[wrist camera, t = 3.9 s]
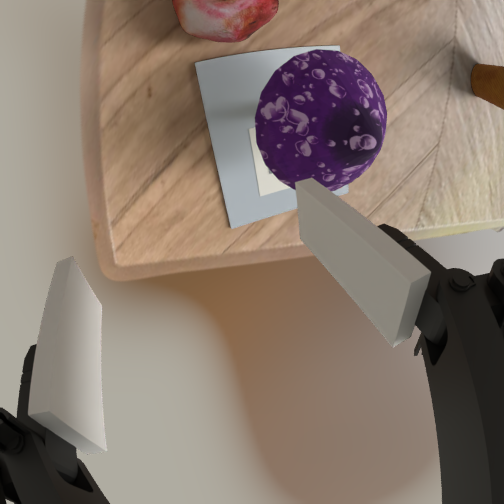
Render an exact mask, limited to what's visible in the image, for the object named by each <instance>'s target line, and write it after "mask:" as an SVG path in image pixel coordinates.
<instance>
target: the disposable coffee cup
mask: <svg viewBox="0 0 504 504" xmlns="http://www.w3.org/2000/svg"><path fill="white" fill-rule="evenodd" d="M471 85H472V89H473V92H474V94H475V95H476V96H478V97H480V98H482V99H484V100H486V101H488V102H490V103H492V104H494V105H496V106H498V107H500V108H502V109H504V67H503V66H495V65H485V64H476V65H475V66H474V68H473V70H472V73H471Z"/></svg>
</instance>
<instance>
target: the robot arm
mask: <svg viewBox="0 0 504 504" xmlns="http://www.w3.org/2000/svg"><path fill="white" fill-rule="evenodd" d="M295 187H296V197H297V208H298V219H299V231H300V239H301V240H302V241H303V243H304V244H305V245H306V246H307V247H308V248H309V249H310V250H311V252H312V253H313V254H314V255H315V256H316V257H317V258H318V259H319V261H320V262H321V263H322V264H323V265H324V266H325V268H326V269H327V270H328V271H329V272H330V273H331V274H332V275H333V277H334V278H335V279H336V280H337V281H338V283H339V284H340V285H341V286H342V287H343V288H344V290H345V291H346V292H347V293H348V294H349V295H350V296H351V298H352V299H353V300H354V301H355V303H356V304H357V305H358V306H359V307H360V308H361V310H362V311H363V312H364V313H365V314H366V316H367V317H368V318H369V319H370V321H371V322H372V323H373V324H374V325H375V326H376V328H377V329H378V330H379V331H380V333H381V334H382V335H383V336H384V338H385V339H386V340H387V341H388V342H389V344H390V345H391V346H392V347H395V346H396V345H398V344H400V343H401V342H403V341H405V340H406V339H408V338H410V337H411V335H412V332H413V329H414V326H415V325H416V326H417V327H418V328H419V330H420V331H421V334H420V337H419V339H418V342H417V344H416V347H415V349H414V356H417V355H418V353H419V350H420V348H421V349H422V355H423V358H424V362H425V367H426V372H427V377H428V382H429V387H430V392H431V398H432V403H433V410H434V416H435V423H436V431H437V439H438V448H439V457H440V468H441V484H442V504H504V259H498V260H496V261H495V262H494V263H493V266H492V269H491V271H490V273H487V274H483V275H478V276H473V275H472V274H471V273H469V272H467V271H465V270H463V269H457V268H451V269H446V268H445V267H443V266H442V265H441V264H440V263H439V262H438V261H436V260H435V259H434V258H433V257H431V256H430V255H429V254H428V253H427V252H425V251H424V250H423V249H422V248H420V247H419V246H416V243H414V242H413V241H412V240H411V239H408V237H407V236H406V235H404V234H403V233H402V232H401V231H399V230H398V229H396V228H394V227H391V226H389V225H386V224H382V225H379V226H376V225H375V224H373V223H372V222H371V221H370V220H368V219H367V218H366V217H364V216H363V215H362V214H361V213H359V212H358V211H357V210H355V209H354V208H353V207H351V206H350V205H349V204H347V203H346V202H345V201H343V200H342V199H341V198H339V197H338V196H337V195H335V194H334V193H333V192H331V191H330V190H328V189H327V188H326V187H324V186H323V185H321V184H320V183H319V182H317V181H316V180H314V179H313V178H309V179H305V180H301V181H298V182H295ZM101 323H102V305H101V304H100V302H99V300H98V299H97V297H96V296H95V294H94V292H93V291H92V289H91V287H90V286H89V284H88V282H87V281H86V279H85V277H84V276H83V274H82V272H81V270H80V268H79V267H78V265H77V263H76V261H75V260H74V258H73V256H72V257H69V258H66V259H64V260H62V261H59V262H57V264H56V267H55V271H54V274H53V278H52V281H51V285H50V288H49V292H48V296H47V300H46V304H45V308H44V313H43V317H42V321H41V326H40V331H39V336H38V341H37V344H35V345H32V346H31V347H30V349H29V351H28V353H27V355H26V357H25V360H24V365H23V371H22V372H23V374H22V377H21V384H22V385H20V391H19V399H18V408H17V418H15V417H14V416H13V415H11V414H10V413H9V412H8V411H6V410H5V409H3V408H0V504H6V500H5V499H7V500H9V501H11V502H14V504H110V503H109V501H108V500H107V499H106V497H105V496H104V494H103V493H102V491H101V490H100V488H99V487H98V485H97V484H96V482H95V481H94V479H93V477H92V476H91V474H90V473H89V471H88V469H87V468H86V466H85V465H84V463H83V462H82V461H81V460H80V459H78V458H77V455H76V448H77V449H78V450H80V451H82V452H83V453H85V454H87V455H88V454H95V453H101V452H107V446H106V437H105V427H104V416H103V400H102V378H101Z"/></svg>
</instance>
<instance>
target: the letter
mask: <svg viewBox="0 0 504 504" xmlns="http://www.w3.org/2000/svg"><path fill="white" fill-rule="evenodd" d="M315 49H321V50H336V51H339V52H340V46H311V47H296V48H284V49H274V50H266V51H258V52H250V53H244V54H237V55H231V56H226V57H220V58H215V59H210V60H205V61H200V62H196V63H195V68H196V73H197V77H198V82H199V87H200V92H201V96H202V101H203V106H204V110H205V115H206V120H207V124H208V129H209V133H210V138H211V142H212V147H213V152H214V156H215V161H216V165H217V170H218V174H219V179H220V183H221V187H222V192H223V196H224V201H225V205H226V209H227V214H228V218H229V223H230V227H231V229H233V228H236V227H239V226H242V225H245V224H249V223H252V222H255V221H258V220H261V219H264V218H267V217H271V216H274V215H277V214H280V213H283V212H287V211H290V210H293V209H296V208H297V197H296V190H294V189H292V188H291V187H289V186H287V185H286V184H284V183H282V182H280V181H279V180H278V179H277V178H276V176H275V175H274V174H273V173H272V172H271V171H270V170H269V168H268V167H267V166H266V165H265V163H264V161H263V158H262V156H261V153H260V151H259V148H258V146H257V143H256V130H255V114H256V110H257V106H258V103H259V99H260V95H261V92H262V90H263V89H264V87H265V85H266V84H267V82H268V81H269V79H270V78H271V76H272V75H273V73H274V72H275V70H277V69H278V68H279V67H281V66H282V65H283V64H284V63H286V62H287V61H288V60H290V59H291V58H292V57H293V56H296V55H299V54H302V53H305V52H308V51H312V50H315ZM331 192H333V193H334V194H335V195H337V196H339V195H343V194H346V193H348V184H347V185H345V186H343V187H341V188H339V189H337V190H336V191H331Z"/></svg>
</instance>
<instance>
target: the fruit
mask: <svg viewBox="0 0 504 504" xmlns="http://www.w3.org/2000/svg"><path fill="white" fill-rule="evenodd" d="M172 2H173V6H174V9H175V11H176V14H177V16H178V19H179V22H180V24H181V26H182V28H183V29H184V31H185V32H187V33H188V34H191V35H193V36H196V37H199V38H203V39H208V40H212V41H216V42H240V41H243V40H245V39H247V38H248V37H249V36H250V35H251V34H253V33H254V32H255V31H257V30H258V29H259V28H260V27H262V26H263V25H265V24H266V23H268V22H269V21H270V20H271V19H272V18H273V17H274V16H275V14H276V13H277V11H278V4H279V1H278V0H172Z"/></svg>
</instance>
